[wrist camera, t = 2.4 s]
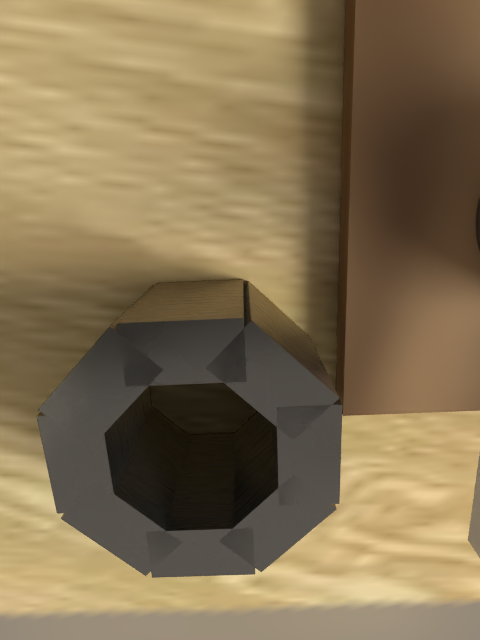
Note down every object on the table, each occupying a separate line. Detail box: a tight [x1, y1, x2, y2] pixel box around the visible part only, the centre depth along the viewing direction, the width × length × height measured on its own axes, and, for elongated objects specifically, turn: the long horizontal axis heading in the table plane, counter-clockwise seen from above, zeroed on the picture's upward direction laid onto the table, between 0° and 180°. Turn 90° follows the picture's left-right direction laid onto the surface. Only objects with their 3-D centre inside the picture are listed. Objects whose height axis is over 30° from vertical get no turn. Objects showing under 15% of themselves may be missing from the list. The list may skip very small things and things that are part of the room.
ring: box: [37, 279, 342, 578], centre depth 13 cm, size 8×8×5 cm
